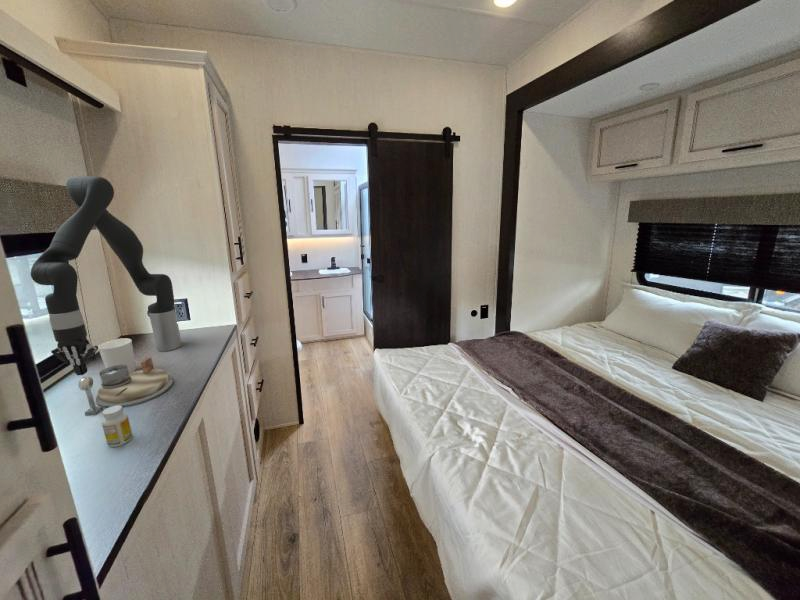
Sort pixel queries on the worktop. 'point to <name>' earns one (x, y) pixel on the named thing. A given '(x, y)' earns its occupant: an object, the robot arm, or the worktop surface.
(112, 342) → the candle holder
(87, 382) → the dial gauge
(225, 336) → the worktop surface
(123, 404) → the turntable base
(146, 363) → the turntable
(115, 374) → the cover
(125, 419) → the supplement bottle
